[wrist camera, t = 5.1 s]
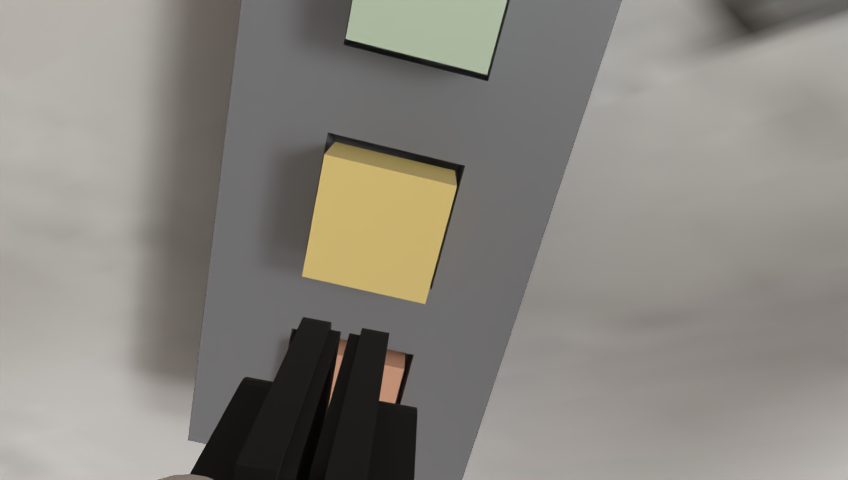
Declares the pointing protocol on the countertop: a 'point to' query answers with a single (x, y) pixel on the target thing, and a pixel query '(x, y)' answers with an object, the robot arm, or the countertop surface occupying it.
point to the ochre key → (378, 222)
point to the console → (407, 138)
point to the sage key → (431, 29)
